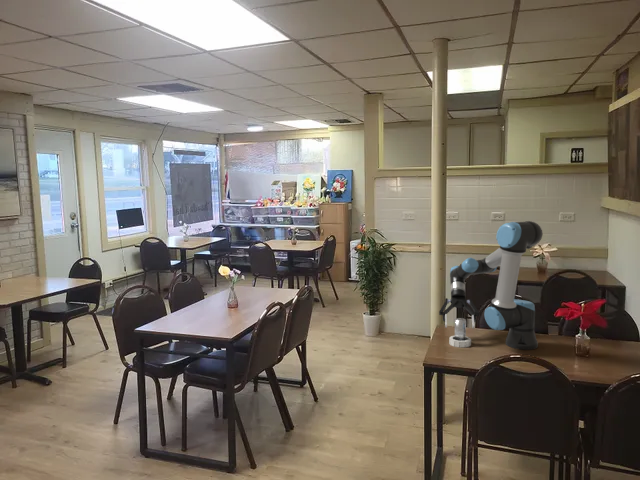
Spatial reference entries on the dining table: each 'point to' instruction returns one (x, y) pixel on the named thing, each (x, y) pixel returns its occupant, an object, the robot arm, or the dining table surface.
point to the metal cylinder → (460, 329)
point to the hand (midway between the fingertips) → (459, 326)
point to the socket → (460, 342)
